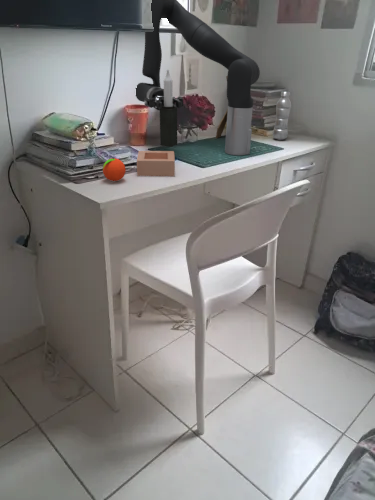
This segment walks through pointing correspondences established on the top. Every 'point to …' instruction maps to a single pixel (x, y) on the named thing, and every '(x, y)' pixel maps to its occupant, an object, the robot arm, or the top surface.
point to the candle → (168, 116)
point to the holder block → (155, 163)
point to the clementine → (114, 169)
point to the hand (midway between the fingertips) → (170, 105)
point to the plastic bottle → (282, 116)
